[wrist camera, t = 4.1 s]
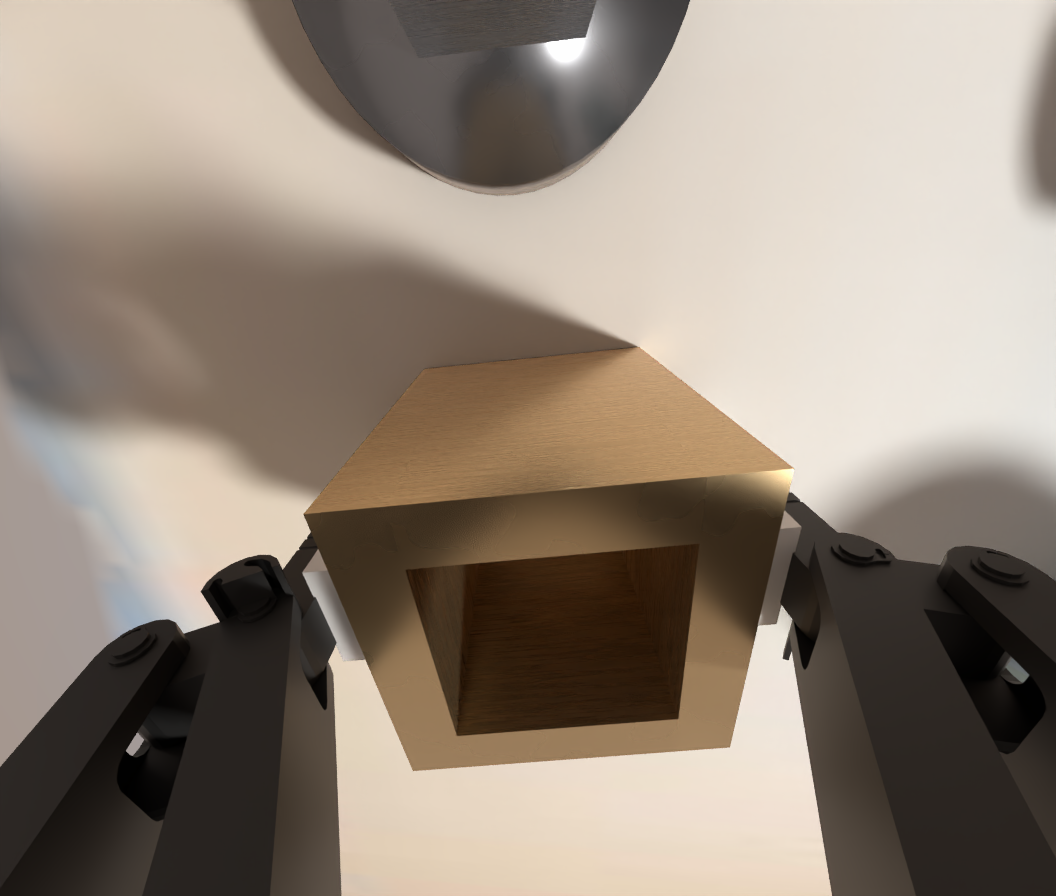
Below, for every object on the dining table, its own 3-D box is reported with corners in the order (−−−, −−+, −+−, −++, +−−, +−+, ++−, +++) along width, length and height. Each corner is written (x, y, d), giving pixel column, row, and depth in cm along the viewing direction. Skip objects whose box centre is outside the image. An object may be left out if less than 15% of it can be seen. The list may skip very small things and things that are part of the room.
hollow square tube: (638, 346, 13) (794, 468, 6) (634, 522, 16) (729, 747, 9) (424, 368, 13) (303, 513, 6) (461, 538, 16) (412, 770, 9)
